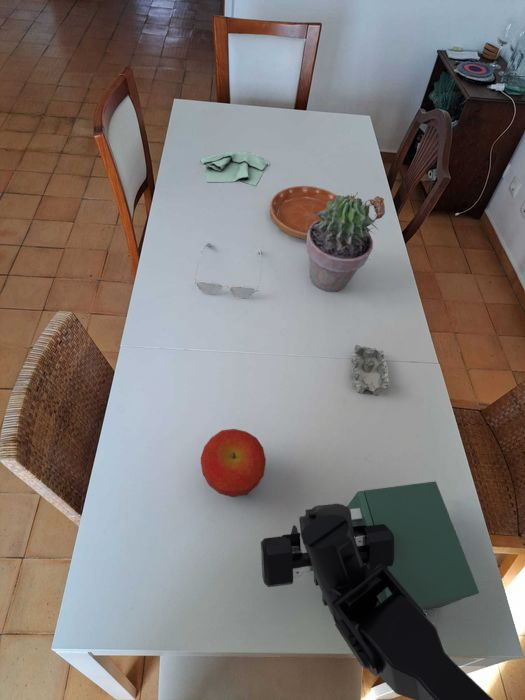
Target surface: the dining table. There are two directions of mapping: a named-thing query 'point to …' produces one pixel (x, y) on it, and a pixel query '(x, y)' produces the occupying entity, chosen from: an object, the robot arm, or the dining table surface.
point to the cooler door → (363, 517)
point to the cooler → (423, 544)
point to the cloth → (234, 167)
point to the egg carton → (369, 370)
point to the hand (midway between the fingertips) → (312, 525)
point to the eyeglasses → (215, 288)
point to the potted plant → (340, 241)
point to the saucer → (299, 208)
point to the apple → (233, 462)
